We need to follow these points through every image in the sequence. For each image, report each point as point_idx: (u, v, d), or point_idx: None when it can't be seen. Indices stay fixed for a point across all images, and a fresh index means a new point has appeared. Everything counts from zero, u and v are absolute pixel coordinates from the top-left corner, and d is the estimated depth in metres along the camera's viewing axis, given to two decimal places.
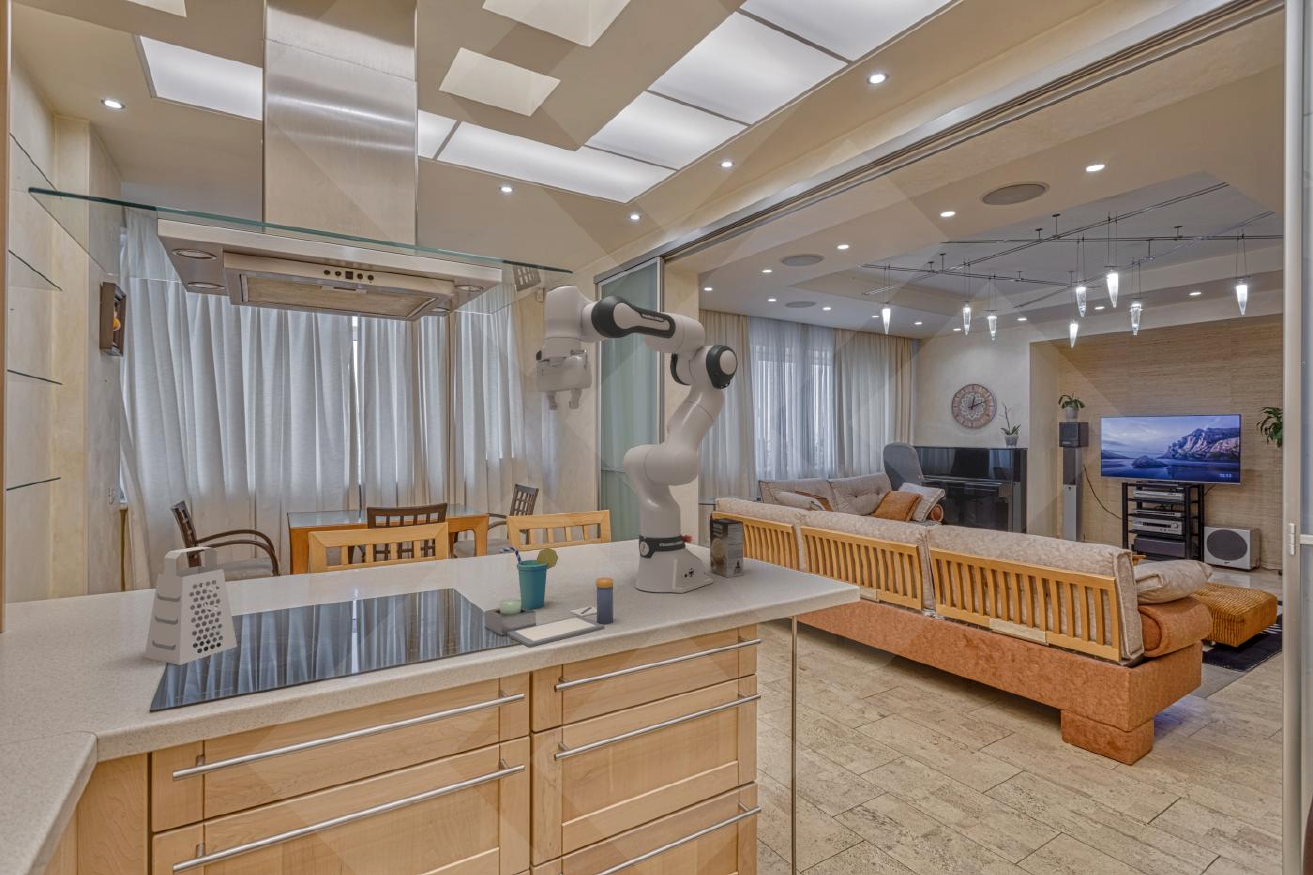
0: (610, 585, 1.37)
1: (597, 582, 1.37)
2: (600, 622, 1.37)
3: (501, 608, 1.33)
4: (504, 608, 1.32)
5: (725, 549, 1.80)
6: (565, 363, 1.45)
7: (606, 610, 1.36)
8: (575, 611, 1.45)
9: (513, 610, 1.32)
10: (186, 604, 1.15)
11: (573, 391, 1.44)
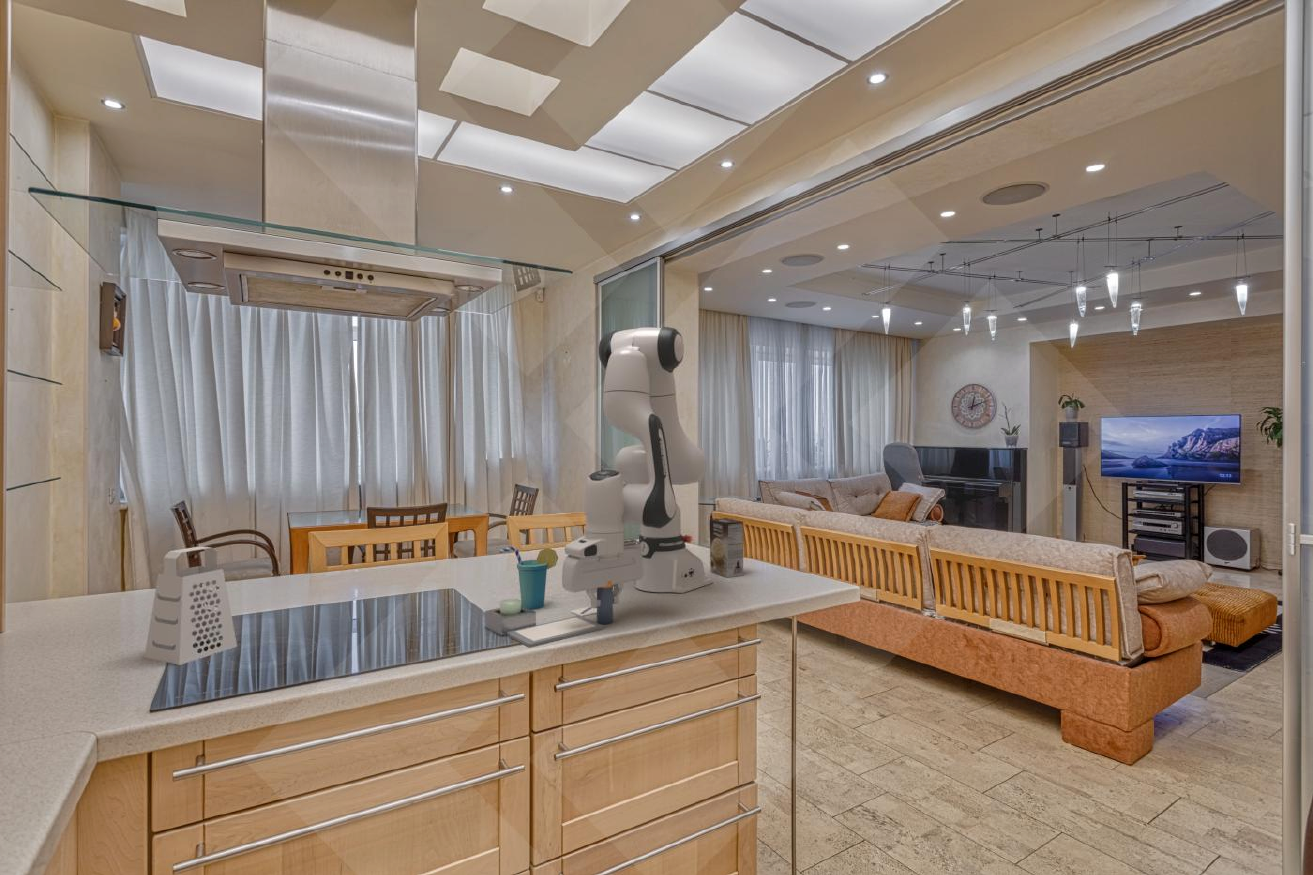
0: (610, 585, 1.37)
1: None
2: (600, 622, 1.37)
3: (501, 608, 1.33)
4: (504, 608, 1.32)
5: (725, 549, 1.80)
6: (624, 556, 1.39)
7: (606, 610, 1.36)
8: (575, 611, 1.45)
9: (513, 610, 1.32)
10: (186, 604, 1.15)
11: (622, 585, 1.40)
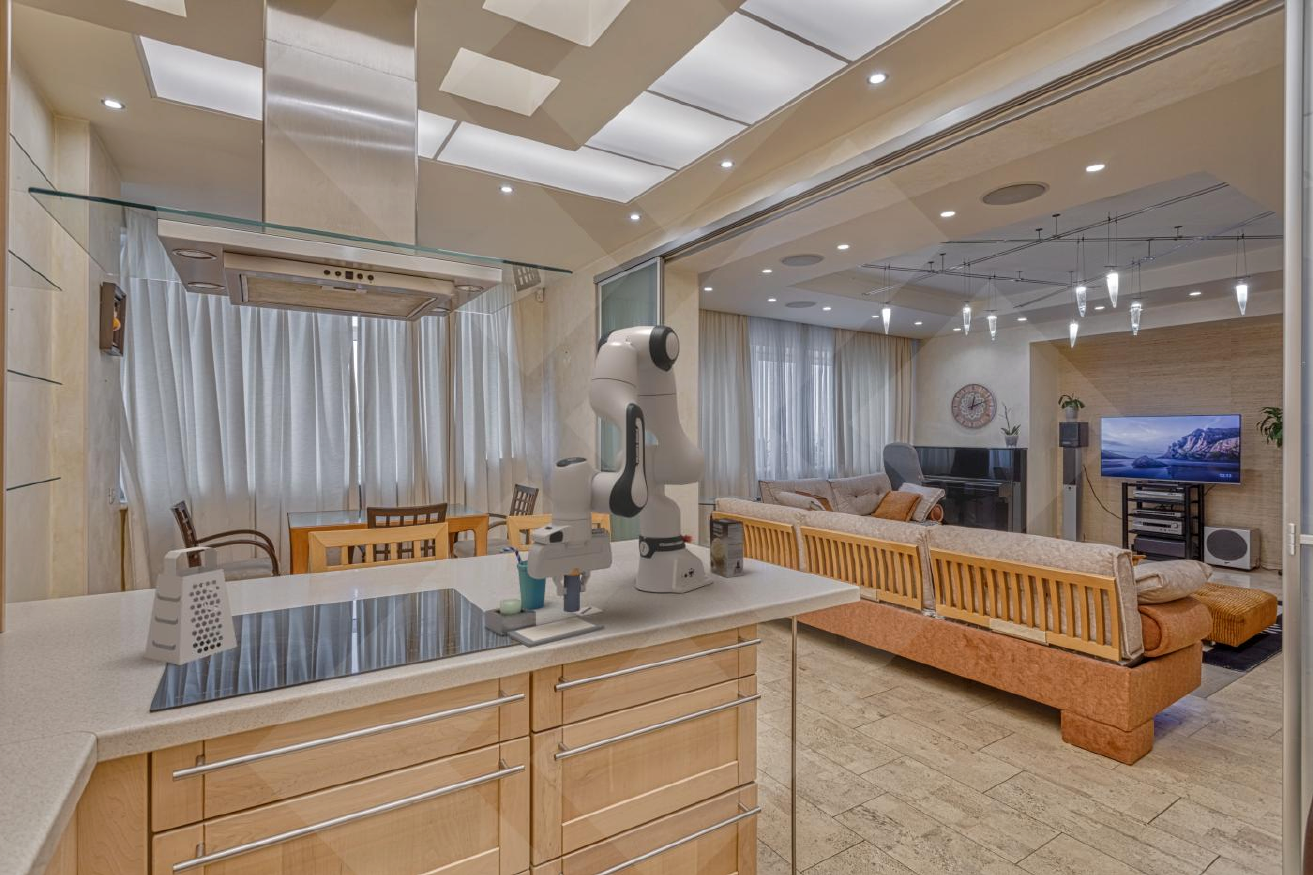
0: (577, 573, 1.36)
1: None
2: (566, 610, 1.35)
3: (501, 608, 1.33)
4: (504, 608, 1.32)
5: (725, 549, 1.80)
6: (591, 544, 1.38)
7: (573, 598, 1.35)
8: None
9: (513, 610, 1.32)
10: (186, 604, 1.15)
11: None
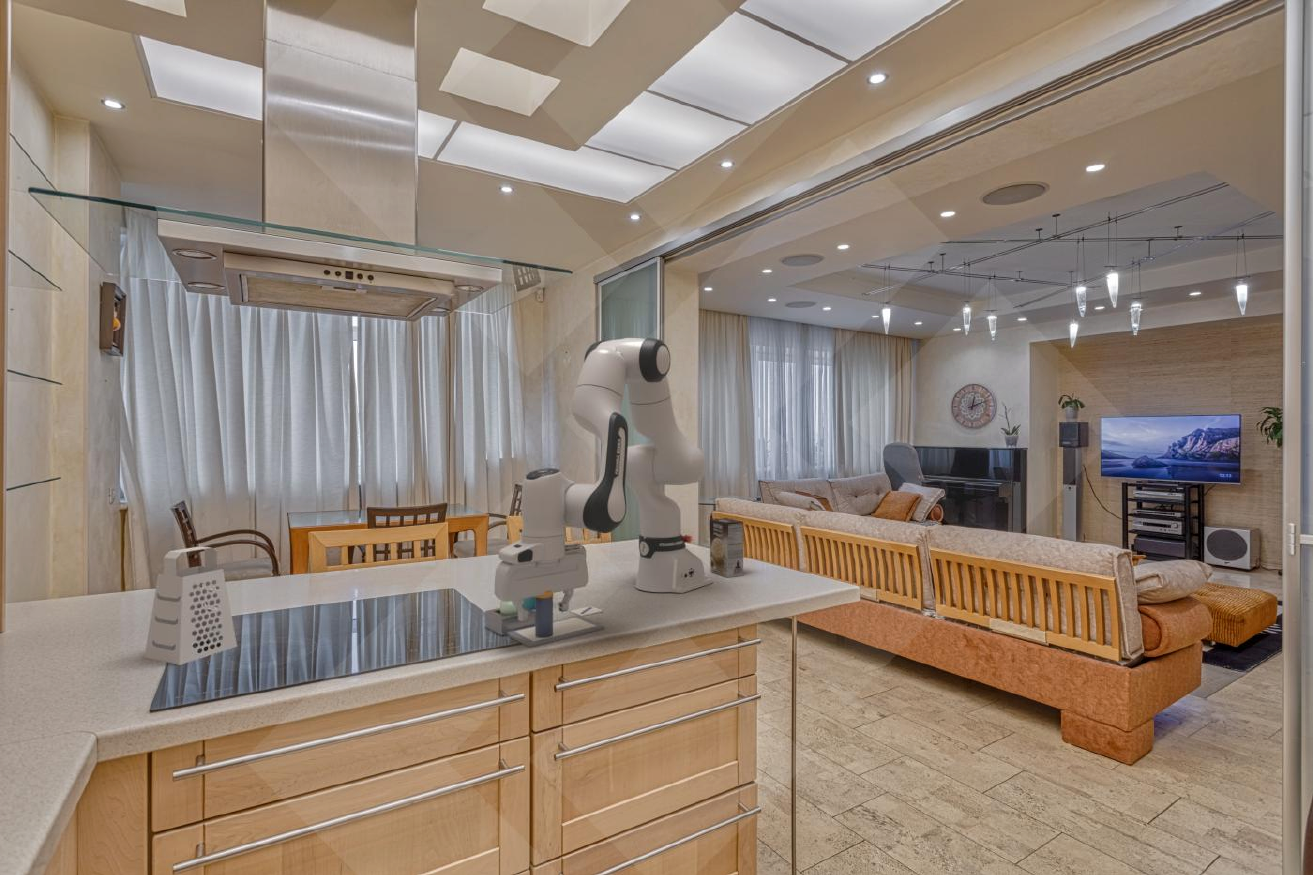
0: (549, 595, 1.26)
1: None
2: (538, 635, 1.25)
3: (501, 608, 1.33)
4: (504, 608, 1.32)
5: (725, 549, 1.80)
6: (565, 562, 1.28)
7: (545, 623, 1.25)
8: (575, 611, 1.45)
9: (513, 610, 1.32)
10: (186, 604, 1.15)
11: None
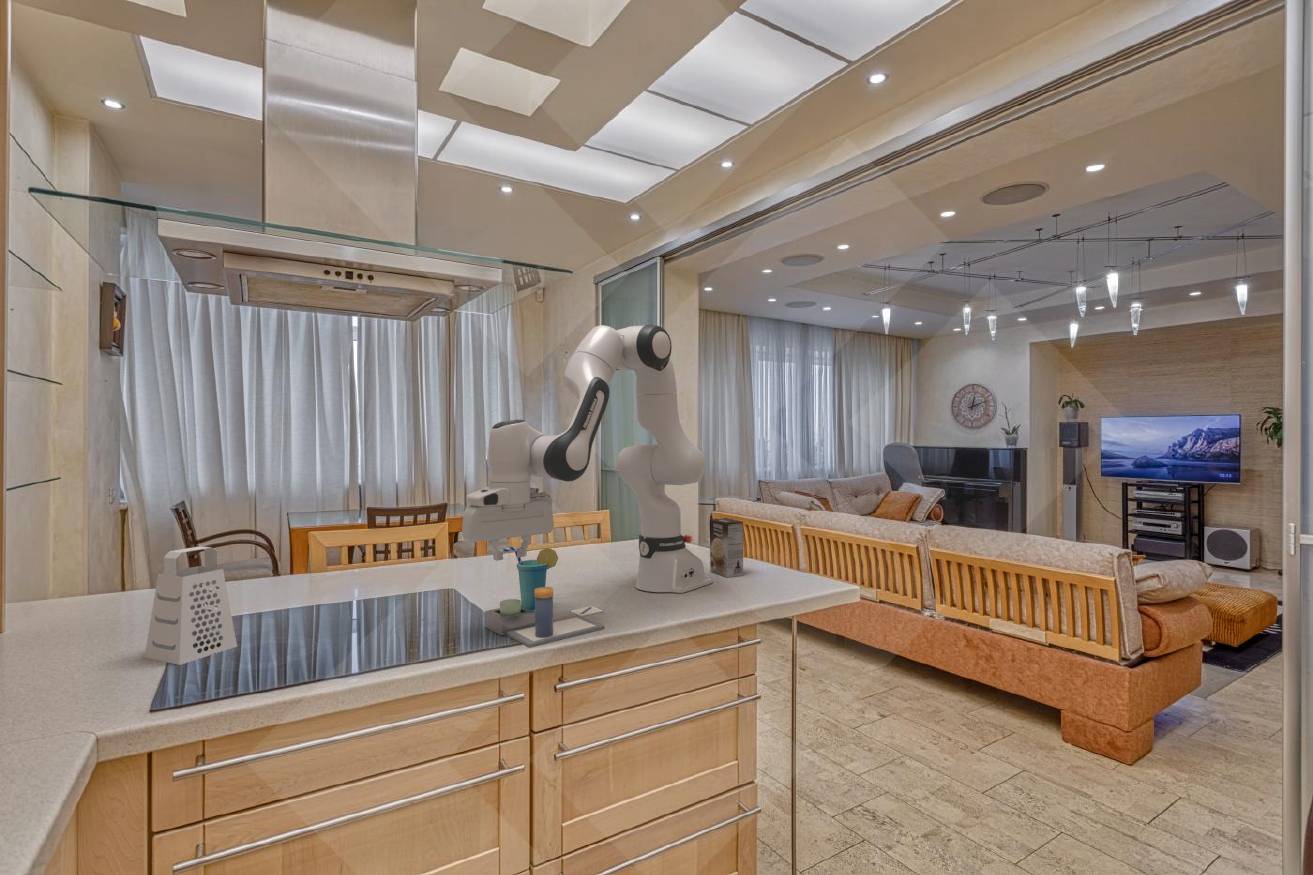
0: (549, 595, 1.26)
1: (535, 592, 1.26)
2: (538, 635, 1.25)
3: (501, 608, 1.33)
4: (504, 608, 1.32)
5: (725, 549, 1.80)
6: (530, 508, 1.35)
7: (545, 623, 1.25)
8: (575, 611, 1.45)
9: (513, 610, 1.32)
10: (186, 604, 1.15)
11: None
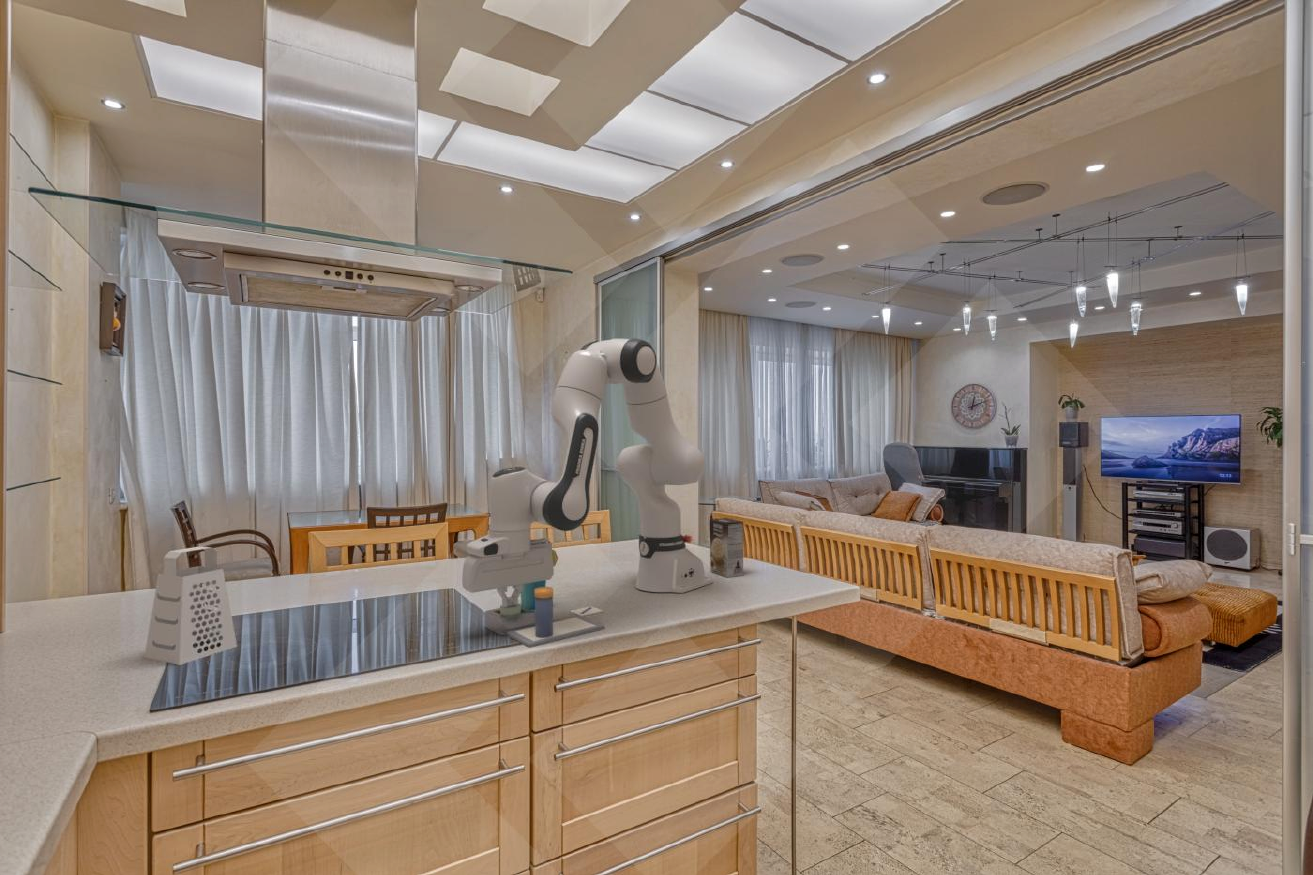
0: (549, 595, 1.26)
1: (535, 592, 1.26)
2: (538, 635, 1.25)
3: (501, 612, 1.33)
4: (504, 613, 1.32)
5: (725, 549, 1.80)
6: (530, 555, 1.35)
7: (545, 623, 1.25)
8: (575, 611, 1.45)
9: None
10: (186, 604, 1.15)
11: (522, 587, 1.35)
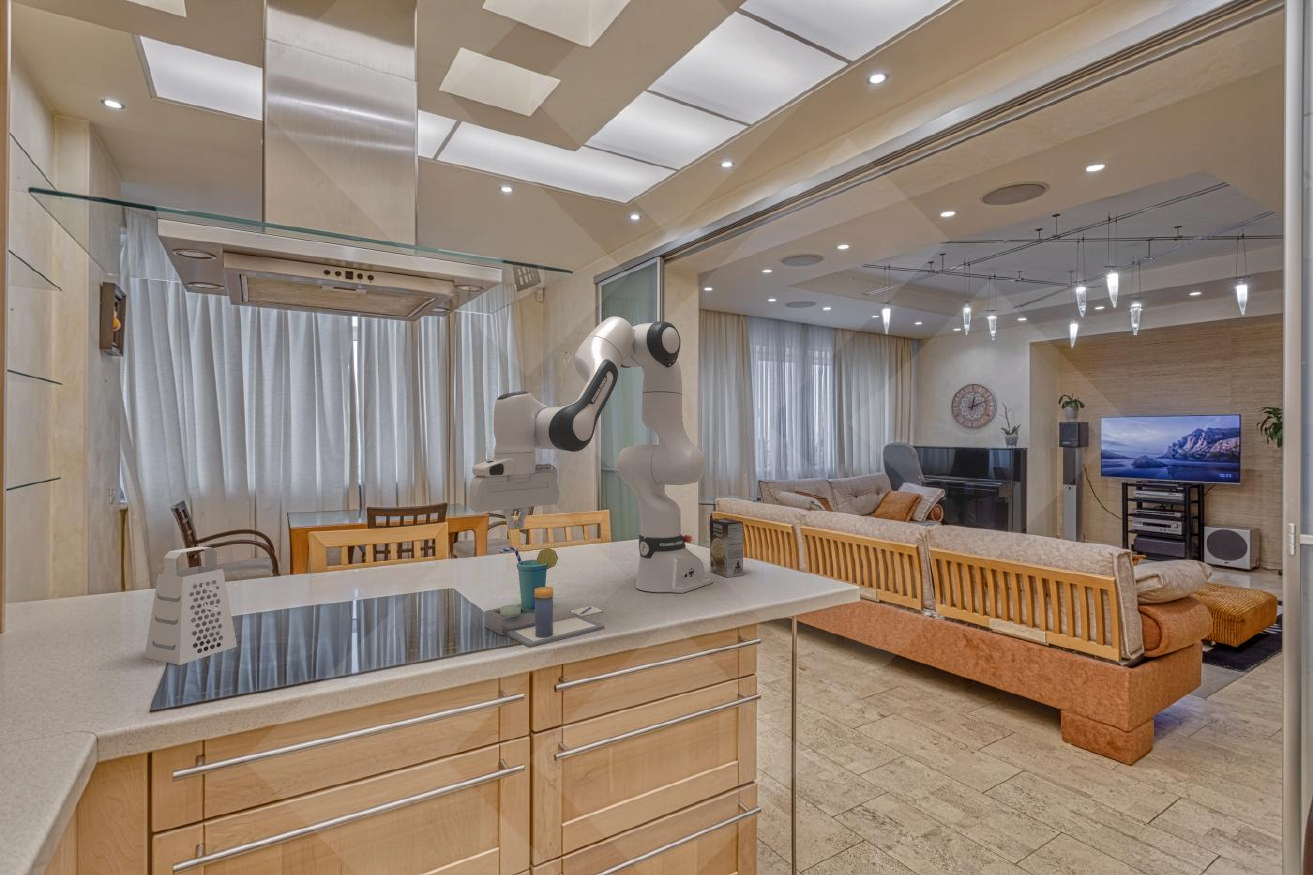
0: (549, 595, 1.26)
1: (535, 592, 1.26)
2: (538, 635, 1.25)
3: (501, 614, 1.33)
4: (504, 614, 1.32)
5: (725, 549, 1.80)
6: (536, 479, 1.36)
7: (545, 623, 1.25)
8: (575, 611, 1.45)
9: None
10: (186, 604, 1.15)
11: (528, 510, 1.36)
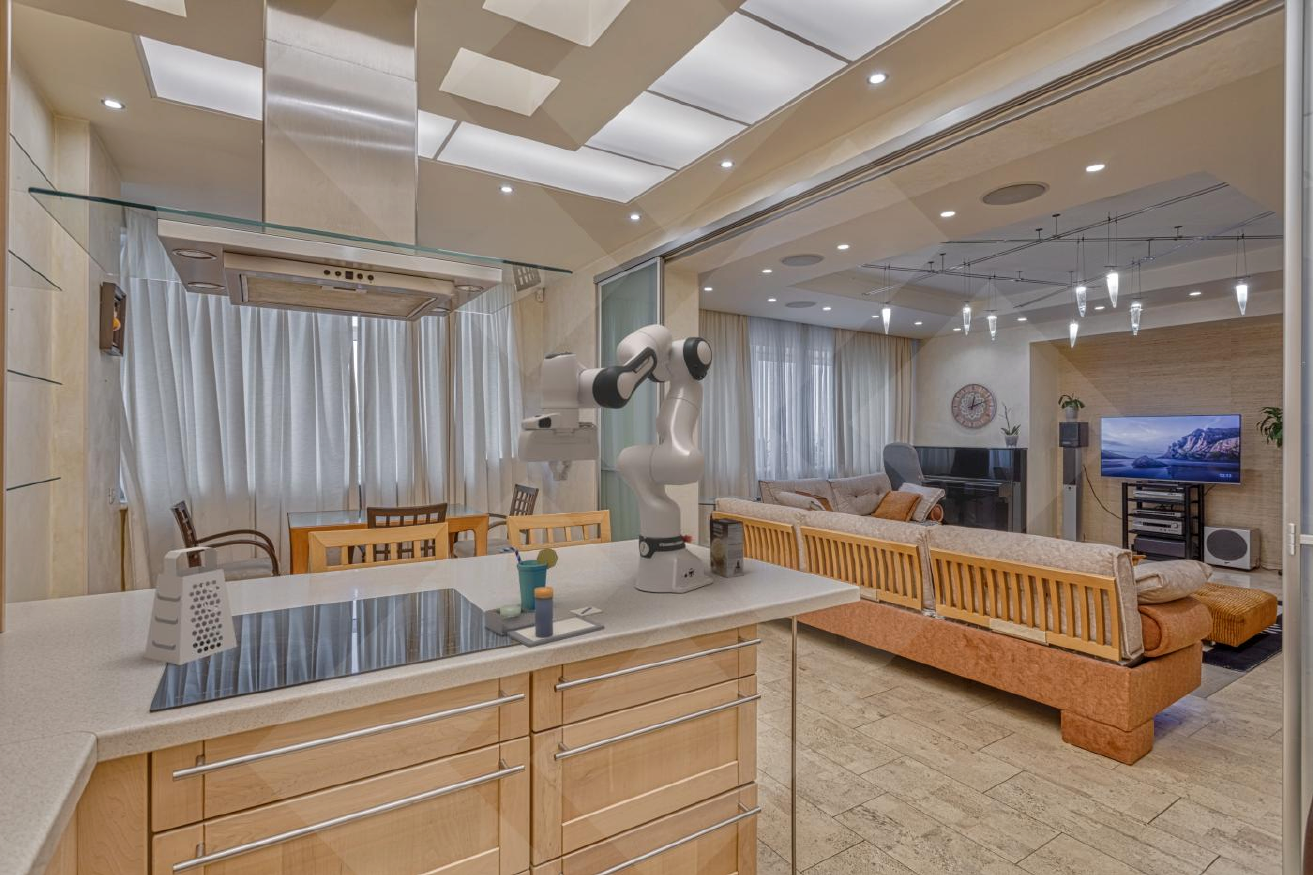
0: (549, 595, 1.26)
1: (535, 592, 1.26)
2: (538, 635, 1.25)
3: (501, 614, 1.33)
4: (504, 614, 1.32)
5: (725, 549, 1.80)
6: (579, 435, 1.46)
7: (545, 623, 1.25)
8: (575, 611, 1.45)
9: None
10: (186, 604, 1.15)
11: (571, 463, 1.45)
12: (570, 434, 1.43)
